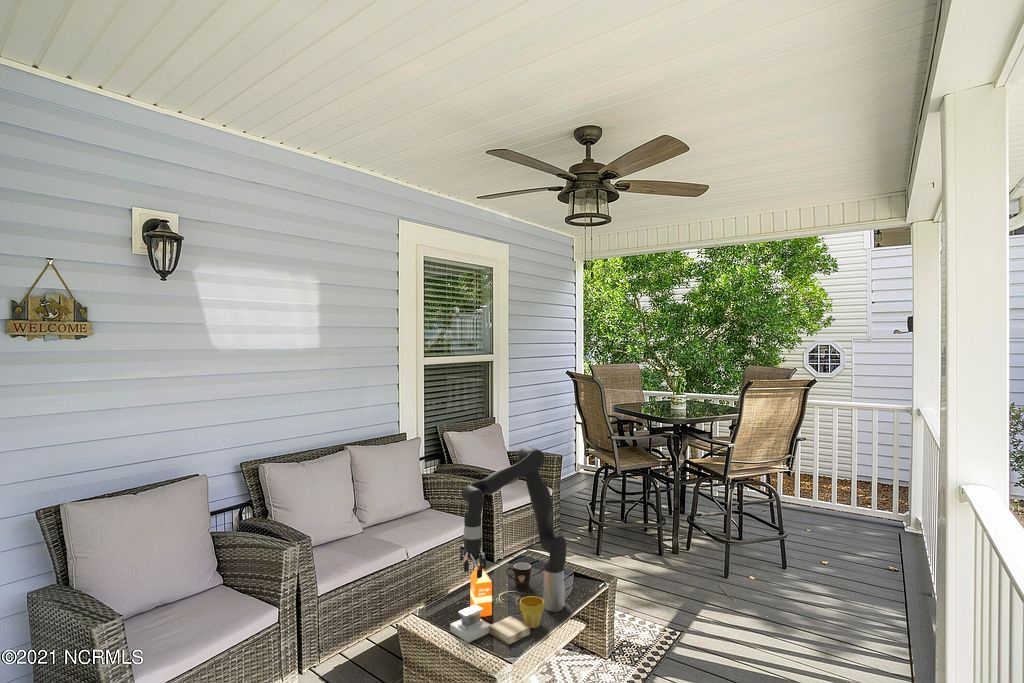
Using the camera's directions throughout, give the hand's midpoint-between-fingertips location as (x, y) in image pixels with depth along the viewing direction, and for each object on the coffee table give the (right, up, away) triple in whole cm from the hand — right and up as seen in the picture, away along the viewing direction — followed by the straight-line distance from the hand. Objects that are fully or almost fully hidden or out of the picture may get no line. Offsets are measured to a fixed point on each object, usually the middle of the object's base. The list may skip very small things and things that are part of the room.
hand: (472, 574), depth 223 cm
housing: (-1, -20, -1) cm, 20 cm away
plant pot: (+25, -24, +6) cm, 35 cm away
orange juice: (+2, -24, +16) cm, 29 cm away
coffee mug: (+20, -24, +43) cm, 53 cm away
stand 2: (+15, -23, -2) cm, 28 cm away
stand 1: (-1, -23, -1) cm, 23 cm away
